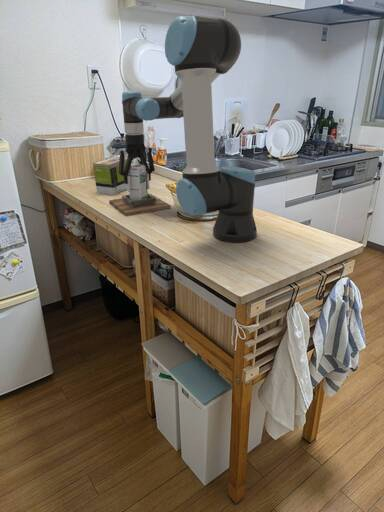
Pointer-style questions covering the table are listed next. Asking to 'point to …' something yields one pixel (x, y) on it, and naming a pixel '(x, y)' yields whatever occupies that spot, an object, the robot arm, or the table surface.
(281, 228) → the table surface
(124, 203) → the wooden tray on board
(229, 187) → the robot arm
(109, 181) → the tea box
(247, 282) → the table surface
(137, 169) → the syrup box
